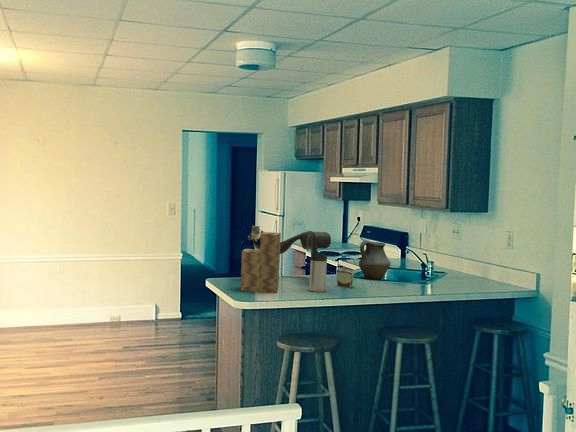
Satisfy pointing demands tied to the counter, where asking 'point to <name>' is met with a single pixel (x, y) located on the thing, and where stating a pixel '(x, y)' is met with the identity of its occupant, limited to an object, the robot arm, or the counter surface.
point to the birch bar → (256, 232)
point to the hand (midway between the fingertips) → (257, 231)
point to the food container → (344, 277)
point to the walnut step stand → (262, 265)
